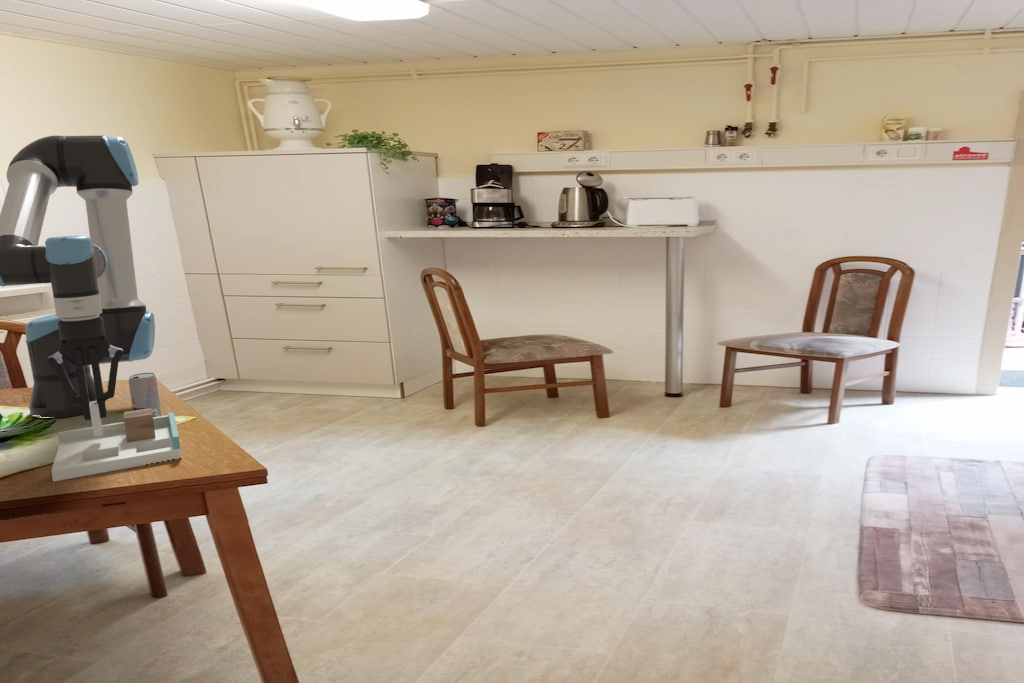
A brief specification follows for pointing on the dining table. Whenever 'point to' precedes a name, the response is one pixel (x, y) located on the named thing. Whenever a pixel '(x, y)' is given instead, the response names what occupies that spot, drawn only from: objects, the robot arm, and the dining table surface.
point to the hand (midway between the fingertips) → (98, 434)
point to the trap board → (113, 449)
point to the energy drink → (145, 393)
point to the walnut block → (139, 425)
